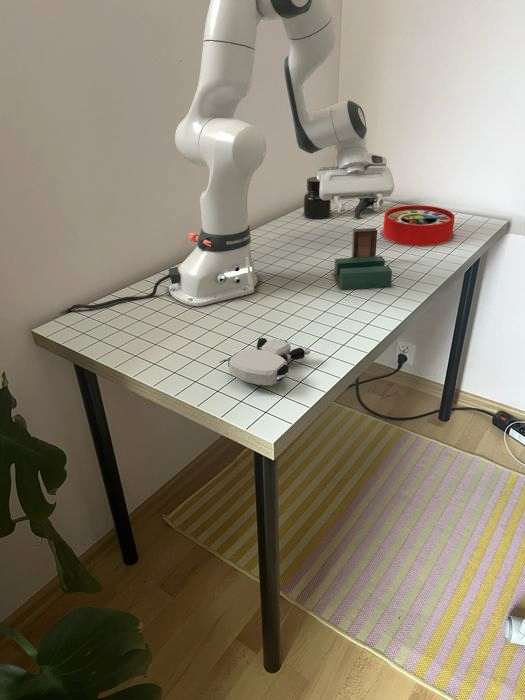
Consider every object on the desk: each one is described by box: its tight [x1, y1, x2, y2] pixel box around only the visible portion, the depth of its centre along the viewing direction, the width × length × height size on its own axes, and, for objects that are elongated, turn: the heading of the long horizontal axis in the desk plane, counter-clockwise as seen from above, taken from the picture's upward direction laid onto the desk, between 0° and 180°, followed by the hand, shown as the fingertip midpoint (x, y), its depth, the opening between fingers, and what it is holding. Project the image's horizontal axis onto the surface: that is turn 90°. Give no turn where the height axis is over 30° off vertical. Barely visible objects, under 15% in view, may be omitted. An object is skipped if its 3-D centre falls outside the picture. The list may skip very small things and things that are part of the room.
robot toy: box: [218, 337, 311, 386], centre depth 103 cm, size 12×4×15 cm
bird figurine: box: [353, 197, 384, 220], centre depth 184 cm, size 13×10×20 cm
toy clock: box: [382, 204, 455, 247], centre depth 164 cm, size 20×6×20 cm
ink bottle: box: [303, 176, 332, 220], centre depth 182 cm, size 10×9×12 cm
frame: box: [351, 227, 378, 258], centre depth 146 cm, size 2×6×9 cm, turn 93°
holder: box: [334, 255, 393, 291], centre depth 137 cm, size 10×12×4 cm
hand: (359, 211), depth 149 cm, fingers open, 8 cm apart
